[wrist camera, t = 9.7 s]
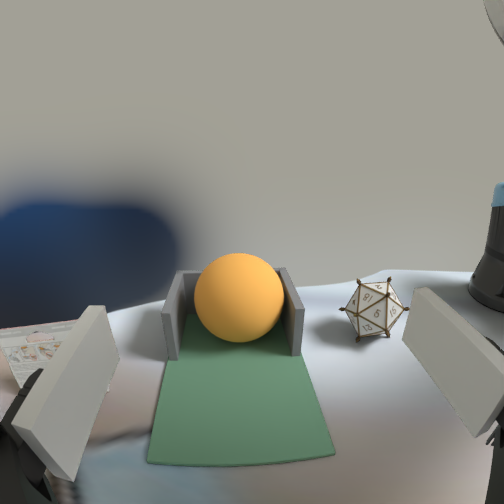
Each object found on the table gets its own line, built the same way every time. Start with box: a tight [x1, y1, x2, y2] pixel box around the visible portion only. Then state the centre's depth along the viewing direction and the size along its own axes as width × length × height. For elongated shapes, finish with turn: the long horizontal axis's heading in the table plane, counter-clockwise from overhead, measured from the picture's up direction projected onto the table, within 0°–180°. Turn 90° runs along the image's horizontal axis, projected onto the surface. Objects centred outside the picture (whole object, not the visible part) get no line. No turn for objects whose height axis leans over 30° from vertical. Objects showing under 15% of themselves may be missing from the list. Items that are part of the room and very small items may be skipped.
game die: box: [339, 277, 410, 342], centre depth 37 cm, size 9×8×10 cm
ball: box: [194, 253, 284, 342], centre depth 37 cm, size 11×11×11 cm
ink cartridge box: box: [0, 319, 109, 392], centre depth 25 cm, size 2×11×10 cm, turn 114°
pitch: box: [147, 268, 335, 467], centre depth 32 cm, size 16×27×7 cm, turn 4°
